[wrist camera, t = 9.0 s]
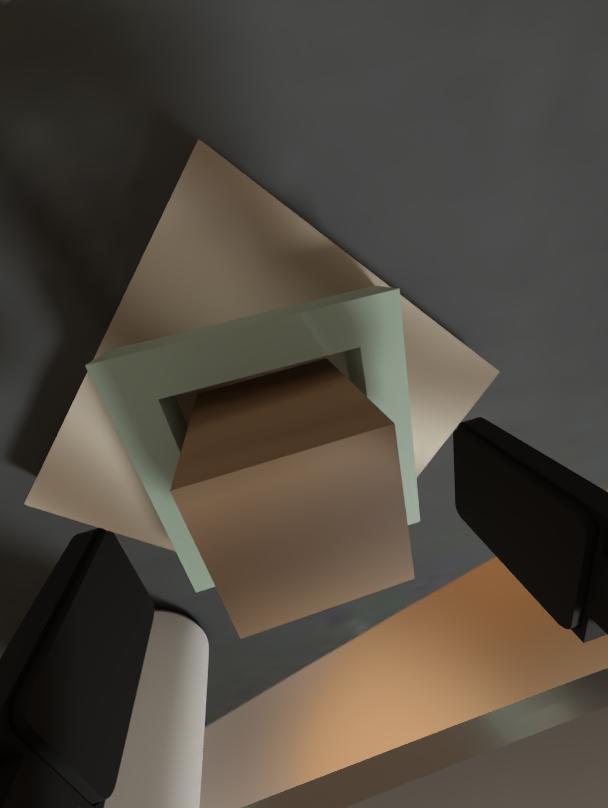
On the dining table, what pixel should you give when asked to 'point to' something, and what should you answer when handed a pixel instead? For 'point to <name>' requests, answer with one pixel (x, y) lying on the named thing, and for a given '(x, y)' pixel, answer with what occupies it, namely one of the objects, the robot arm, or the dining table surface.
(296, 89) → the dining table surface
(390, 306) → the pocket
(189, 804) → the can
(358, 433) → the block
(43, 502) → the board
